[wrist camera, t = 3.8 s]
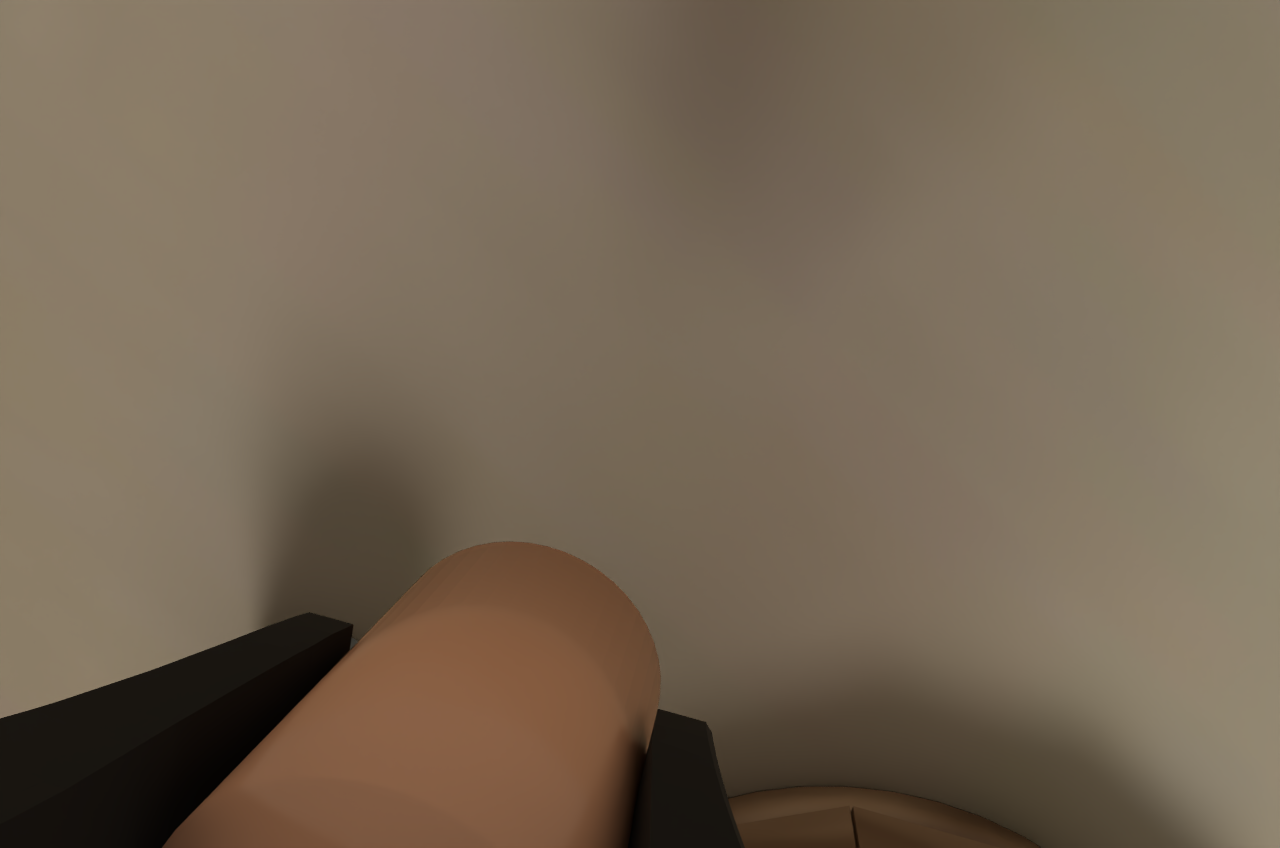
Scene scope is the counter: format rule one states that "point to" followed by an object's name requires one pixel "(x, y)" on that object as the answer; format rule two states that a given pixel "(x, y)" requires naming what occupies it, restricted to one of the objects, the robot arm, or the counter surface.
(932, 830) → the walnut groove tray
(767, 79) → the counter surface
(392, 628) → the peach rounded cylinder
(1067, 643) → the counter surface
